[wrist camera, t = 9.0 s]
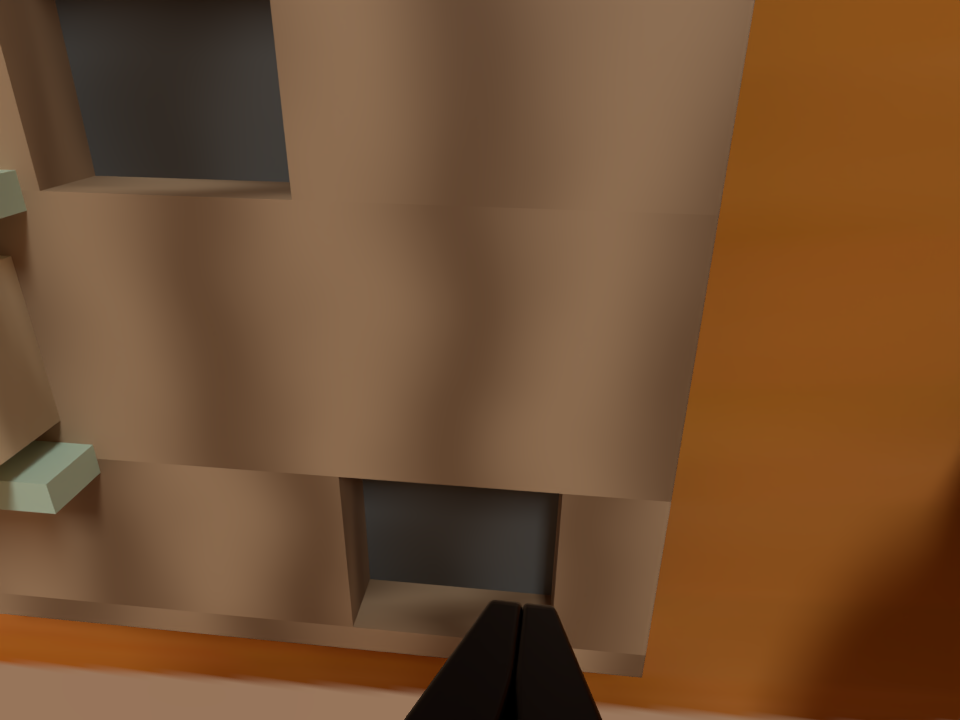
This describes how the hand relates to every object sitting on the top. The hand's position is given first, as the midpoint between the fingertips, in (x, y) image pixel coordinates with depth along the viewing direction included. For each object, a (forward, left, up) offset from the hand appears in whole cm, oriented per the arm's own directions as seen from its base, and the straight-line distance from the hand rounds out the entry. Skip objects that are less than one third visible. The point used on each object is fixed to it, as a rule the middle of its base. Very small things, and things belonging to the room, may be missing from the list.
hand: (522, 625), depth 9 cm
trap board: (+6, +5, -12) cm, 14 cm away
